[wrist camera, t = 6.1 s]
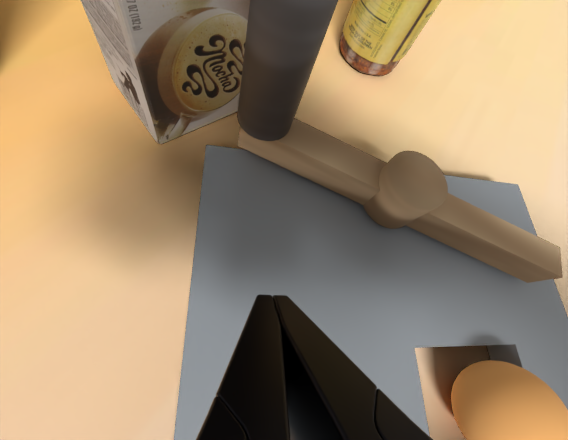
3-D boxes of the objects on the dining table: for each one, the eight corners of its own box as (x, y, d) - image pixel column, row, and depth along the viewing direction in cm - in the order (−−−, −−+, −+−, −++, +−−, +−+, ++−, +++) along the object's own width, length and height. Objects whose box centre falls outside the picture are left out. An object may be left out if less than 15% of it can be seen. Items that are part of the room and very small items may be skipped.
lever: (527, 294, 18) (932, 245, 8) (224, 151, 16) (240, -129, 6) (526, 245, 19) (862, 151, 9) (248, 111, 18) (293, -165, 8)
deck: (607, 532, 16) (658, 558, 14) (156, 642, 11) (145, 705, 9) (494, 195, 24) (517, 184, 22) (206, 162, 19) (206, 144, 17)
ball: (631, 428, 12) (556, 426, 16) (510, 331, 14) (472, 350, 18) (567, 525, 10) (503, 496, 14) (447, 398, 13) (421, 404, 17)
